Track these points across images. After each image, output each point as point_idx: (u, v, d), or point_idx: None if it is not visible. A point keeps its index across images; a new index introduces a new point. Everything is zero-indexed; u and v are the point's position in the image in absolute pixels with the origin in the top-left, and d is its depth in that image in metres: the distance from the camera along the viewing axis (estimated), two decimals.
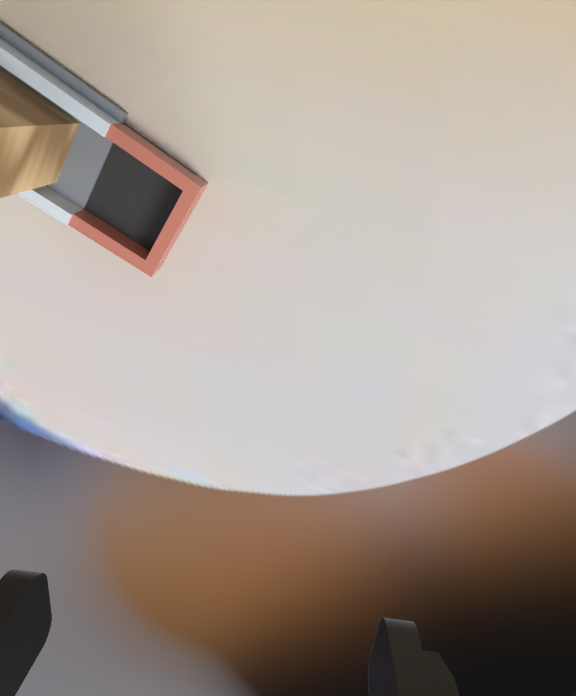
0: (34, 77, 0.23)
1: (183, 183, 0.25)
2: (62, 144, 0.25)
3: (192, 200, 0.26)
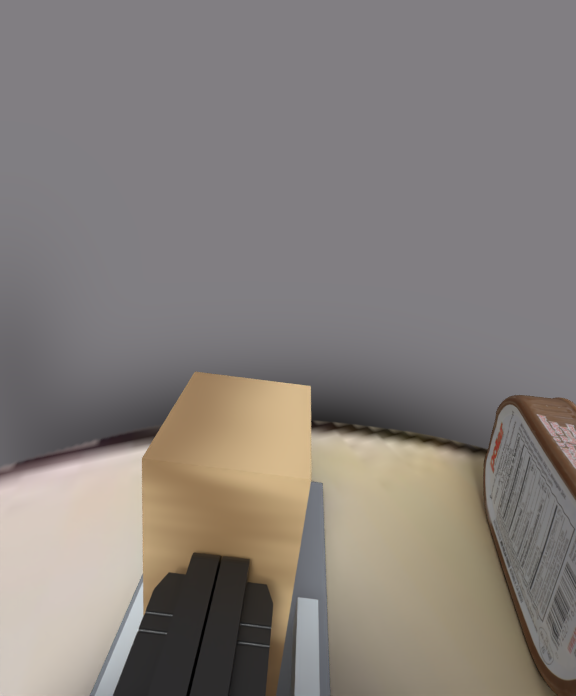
0: None
1: None
2: None
3: None
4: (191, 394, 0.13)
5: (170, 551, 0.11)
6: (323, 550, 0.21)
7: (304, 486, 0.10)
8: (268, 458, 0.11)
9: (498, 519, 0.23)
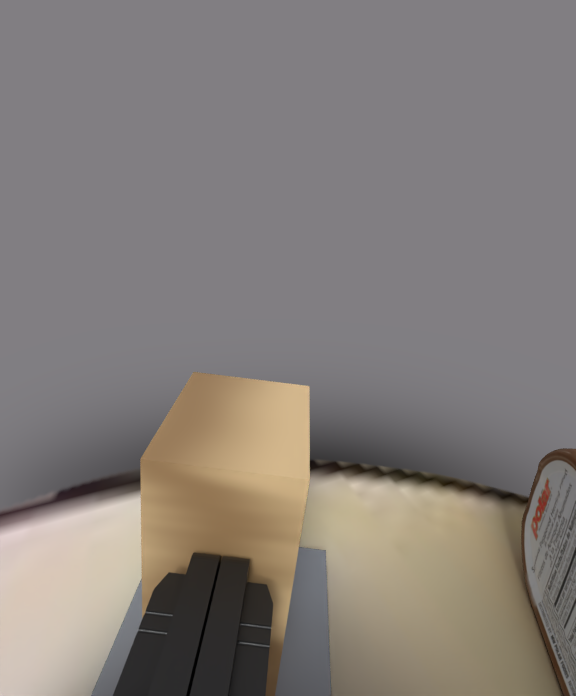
0: None
1: None
2: None
3: None
4: (190, 394, 0.13)
5: (169, 552, 0.11)
6: (327, 657, 0.16)
7: (302, 486, 0.10)
8: (266, 459, 0.11)
9: (546, 604, 0.19)
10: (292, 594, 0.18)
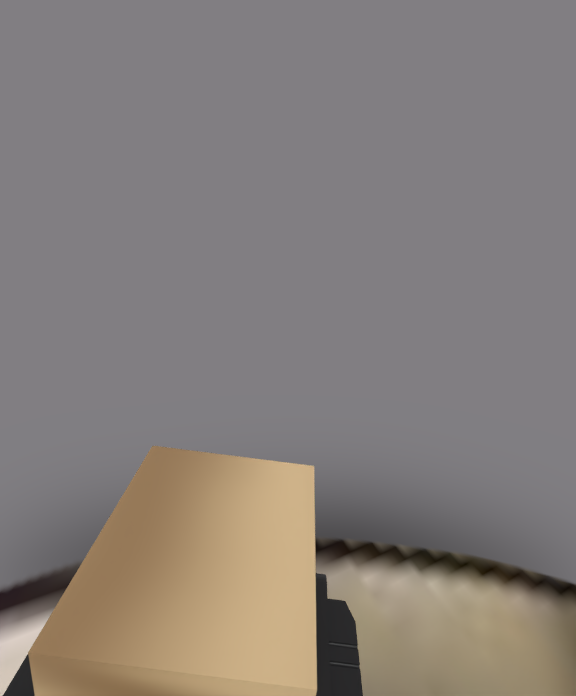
0: None
1: None
2: None
3: None
4: (140, 490, 0.09)
5: None
6: None
7: None
8: (245, 638, 0.06)
9: None
10: None
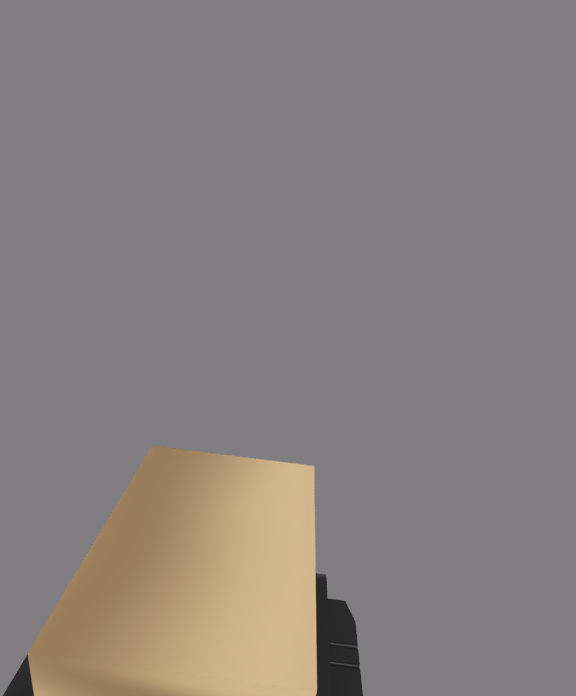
0: None
1: None
2: None
3: None
4: (140, 490, 0.09)
5: None
6: None
7: None
8: (245, 639, 0.06)
9: None
10: None
